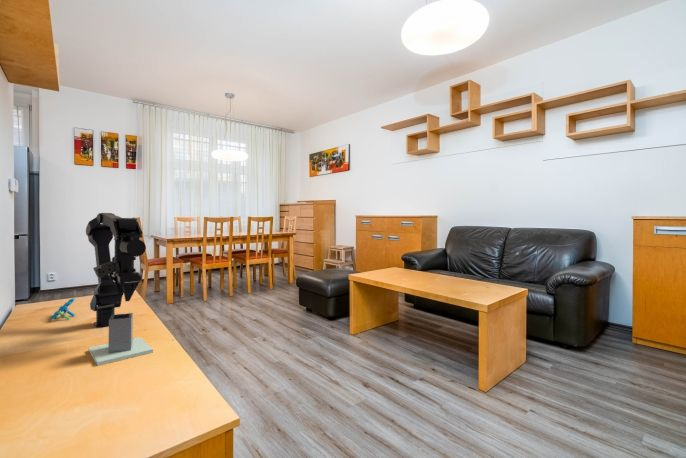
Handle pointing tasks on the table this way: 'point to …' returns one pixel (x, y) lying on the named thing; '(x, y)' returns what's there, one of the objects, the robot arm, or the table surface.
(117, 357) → the pin board
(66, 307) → the blue toy figurine
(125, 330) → the square open box
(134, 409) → the table surface
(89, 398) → the table surface
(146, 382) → the table surface
